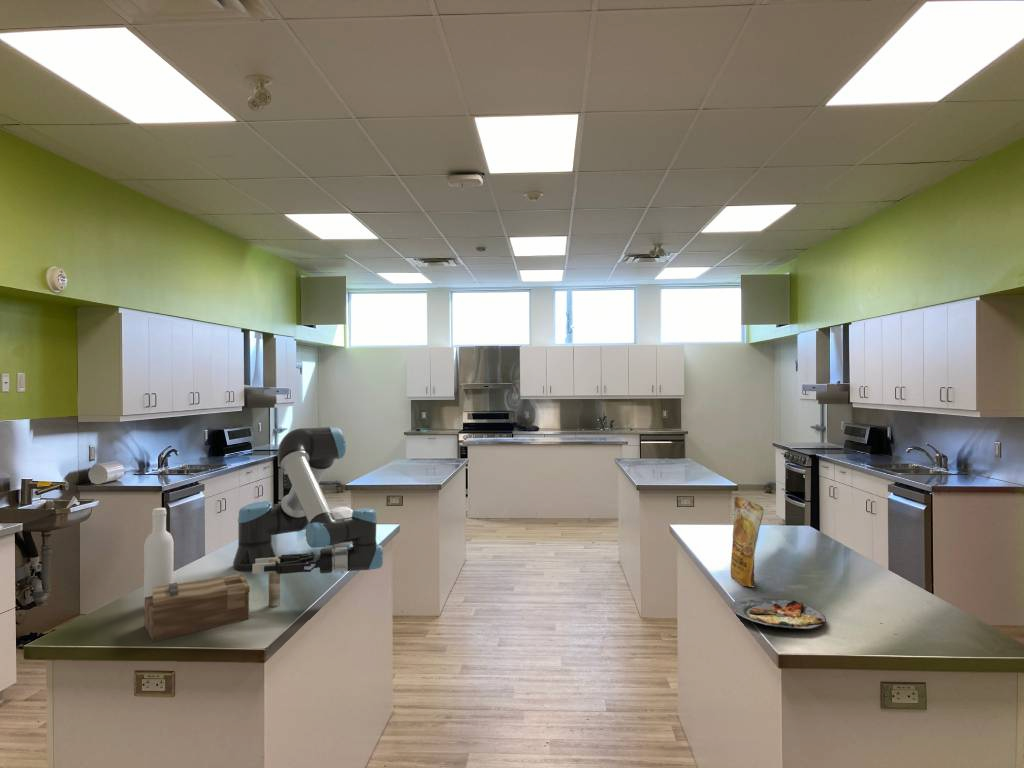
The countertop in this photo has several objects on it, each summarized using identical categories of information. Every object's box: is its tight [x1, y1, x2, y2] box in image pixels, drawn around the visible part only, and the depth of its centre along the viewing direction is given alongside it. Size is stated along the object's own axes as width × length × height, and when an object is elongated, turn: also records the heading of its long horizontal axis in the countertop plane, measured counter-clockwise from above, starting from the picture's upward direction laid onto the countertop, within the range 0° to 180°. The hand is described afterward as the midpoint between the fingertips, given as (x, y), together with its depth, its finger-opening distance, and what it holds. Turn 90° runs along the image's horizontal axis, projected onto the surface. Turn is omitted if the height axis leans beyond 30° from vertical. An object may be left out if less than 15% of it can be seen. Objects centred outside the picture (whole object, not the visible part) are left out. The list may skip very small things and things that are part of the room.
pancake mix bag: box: [730, 496, 764, 588], centre depth 206 cm, size 7×19×28 cm, turn 0°
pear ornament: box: [330, 506, 354, 548], centre depth 254 cm, size 16×22×28 cm
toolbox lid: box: [153, 573, 251, 608], centre depth 171 cm, size 14×24×3 cm, turn 122°
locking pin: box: [268, 558, 281, 608], centre depth 183 cm, size 3×3×14 cm
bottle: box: [143, 507, 175, 610], centre depth 183 cm, size 8×8×30 cm
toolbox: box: [143, 592, 250, 642], centre depth 169 cm, size 14×24×8 cm, turn 130°
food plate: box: [731, 596, 827, 630], centre depth 172 cm, size 25×23×4 cm
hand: (254, 566), depth 182 cm, fingers open, 5 cm apart
